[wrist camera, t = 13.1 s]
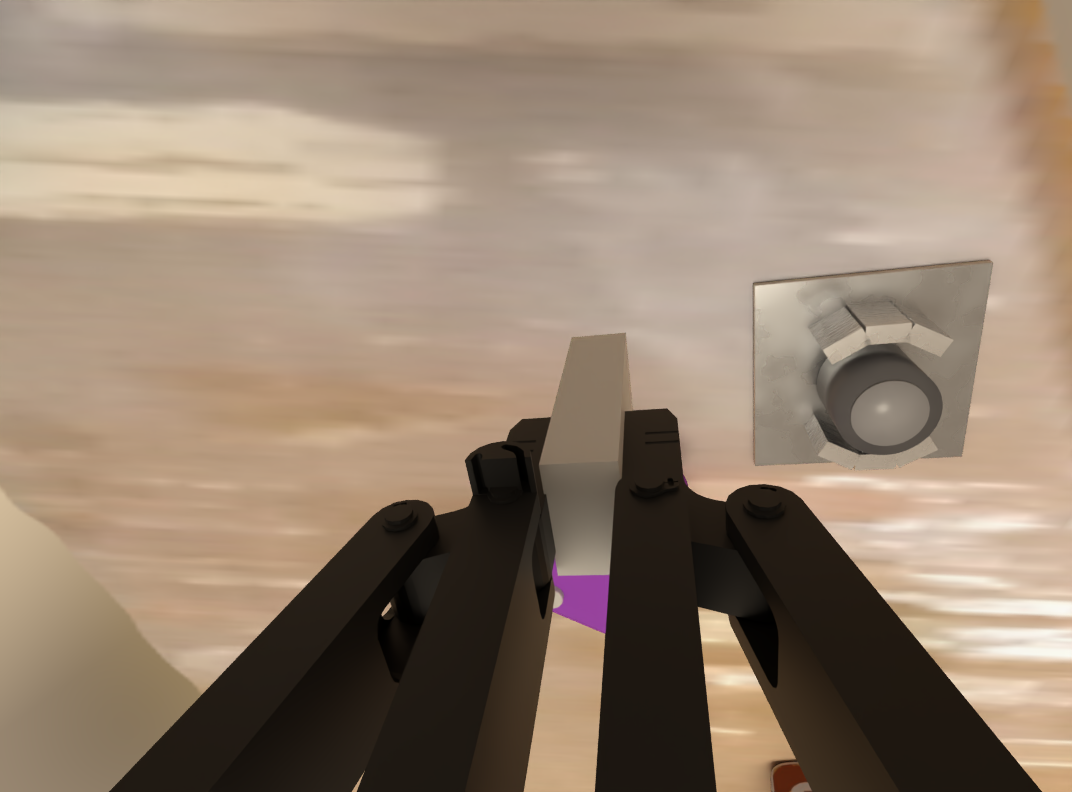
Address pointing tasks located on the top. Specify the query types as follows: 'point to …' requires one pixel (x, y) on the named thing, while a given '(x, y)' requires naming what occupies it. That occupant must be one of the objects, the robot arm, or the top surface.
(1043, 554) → the top surface
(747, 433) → the top surface
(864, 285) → the grey square plate
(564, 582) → the toy camera
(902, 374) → the dark grey cylinder
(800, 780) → the cine camera
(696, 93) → the top surface
